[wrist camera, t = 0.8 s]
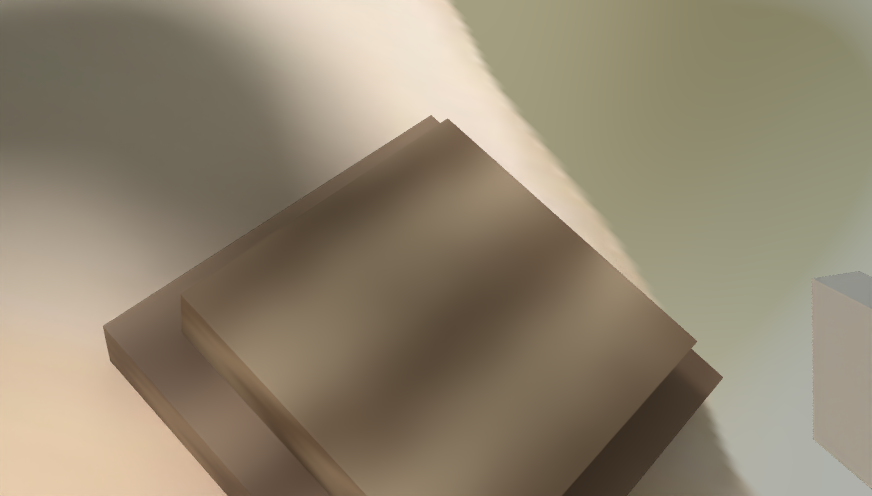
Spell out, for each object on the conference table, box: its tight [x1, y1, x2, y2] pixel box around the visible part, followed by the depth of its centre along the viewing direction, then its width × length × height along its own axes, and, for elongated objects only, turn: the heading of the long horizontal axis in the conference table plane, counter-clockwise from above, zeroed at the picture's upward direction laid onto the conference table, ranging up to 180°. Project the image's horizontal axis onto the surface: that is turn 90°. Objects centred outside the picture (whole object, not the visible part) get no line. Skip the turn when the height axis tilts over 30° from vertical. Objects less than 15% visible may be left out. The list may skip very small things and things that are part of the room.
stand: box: [103, 115, 723, 496], centre depth 34 cm, size 18×18×6 cm
